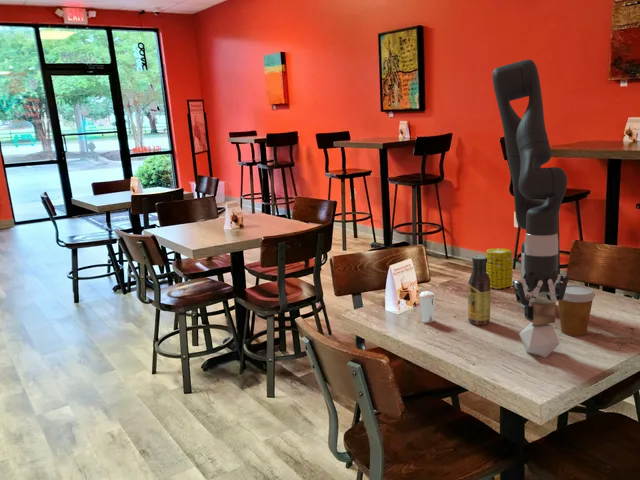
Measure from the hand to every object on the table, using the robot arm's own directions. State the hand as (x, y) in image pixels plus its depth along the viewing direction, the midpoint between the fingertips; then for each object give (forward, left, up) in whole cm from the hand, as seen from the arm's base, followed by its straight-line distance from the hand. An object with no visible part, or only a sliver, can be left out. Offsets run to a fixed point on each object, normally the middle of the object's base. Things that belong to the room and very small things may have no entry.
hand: (539, 317), depth 137 cm
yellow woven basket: (-18, -53, -10) cm, 57 cm away
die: (0, 0, -10) cm, 10 cm away
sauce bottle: (+4, -24, -10) cm, 26 cm away
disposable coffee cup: (-16, -9, -10) cm, 21 cm away
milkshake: (+17, -30, -10) cm, 36 cm away
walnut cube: (0, 0, -1) cm, 1 cm away
